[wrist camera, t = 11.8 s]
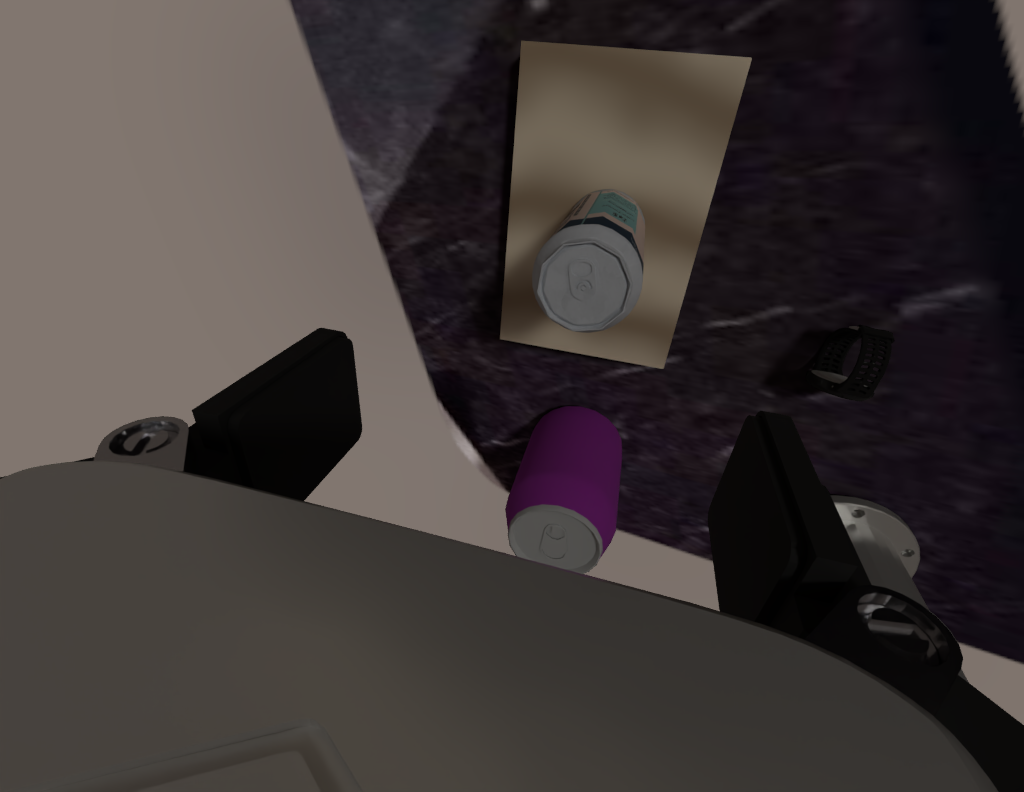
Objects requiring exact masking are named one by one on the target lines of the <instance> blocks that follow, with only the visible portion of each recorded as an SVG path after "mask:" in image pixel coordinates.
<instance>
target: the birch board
mask: <svg viewBox="0 0 1024 792" xmlns="http://www.w3.org/2000/svg"><path fill="white" fill-rule="evenodd" d="M751 60H752V58H748V57H734V56H721V55H707V54H693V53H680V52H666V51H653V50H639V49H626V48H612V47H599V46H585V45H572V44H558V43H545V42H531V41H521V55H520V69H519V83H518V96H517V110H516V124H515V138H514V152H513V165H512V179H511V193H510V207H509V221H508V234H507V248H506V262H505V276H504V290H503V303H502V317H501V331H500V339H502V340H508V341H513V342H519V343H524V344H530V345H535V346H540V347H546V348H551V349H557V350H562V351H568V352H573V353H579V354H584V355H590V356H595V357H600V358H606V359H611V360H617V361H622V362H628V363H633V364H639V365H644V366H650V367H655V368H661V369H663V368H664V365H665V361H666V358H667V354H668V351H669V347H670V344H671V340H672V337H673V333H674V330H675V326H676V323H677V319H678V316H679V312H680V309H681V305H682V302H683V298H684V295H685V291H686V288H687V284H688V281H689V277H690V274H691V270H692V267H693V263H694V260H695V256H696V253H697V249H698V246H699V242H700V239H701V235H702V232H703V228H704V225H705V221H706V217H707V214H708V210H709V207H710V203H711V200H712V196H713V193H714V189H715V186H716V182H717V179H718V175H719V172H720V168H721V165H722V161H723V158H724V154H725V151H726V147H727V144H728V140H729V137H730V133H731V130H732V126H733V123H734V119H735V116H736V112H737V109H738V105H739V102H740V98H741V95H742V91H743V88H744V84H745V81H746V77H747V74H748V70H749V67H750V63H751ZM602 189H615V190H618V191H621V192H624V193H625V194H627V195H628V196H630V197H631V198H633V199H634V200H635V201H636V202H637V204H638V205H639V207H640V209H641V210H642V213H643V217H644V220H645V243H644V267H643V282H642V290H641V293H640V296H639V299H638V301H637V303H636V305H635V307H634V308H633V309H632V311H631V312H630V313H629V315H628V316H627V317H625V318H624V319H623V320H622V321H620V322H619V323H618V324H616V325H615V326H613V327H610V328H608V329H606V330H603V331H598V332H591V333H581V332H575V331H571V330H568V329H566V328H564V327H562V326H560V325H559V324H557V323H555V322H553V321H552V320H551V319H550V318H549V317H548V316H547V315H546V314H545V313H544V312H543V310H542V309H541V307H540V306H539V304H538V302H537V300H536V298H535V294H534V290H533V286H532V272H533V267H534V262H535V260H536V257H537V255H538V253H539V251H540V250H541V248H542V247H543V245H544V244H545V243H546V242H547V241H548V240H549V239H550V238H551V236H552V235H553V234H554V232H555V231H556V230H557V229H558V227H559V226H560V225H561V224H562V222H563V221H564V220H565V218H566V217H567V216H568V215H569V213H570V212H571V211H572V209H573V208H574V206H575V205H576V204H577V203H578V202H579V201H580V200H581V199H582V198H583V197H584V196H586V195H587V194H589V193H591V192H594V191H598V190H602Z"/></svg>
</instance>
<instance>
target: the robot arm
mask: <svg viewBox="0 0 1024 792" xmlns="http://www.w3.org/2000/svg"><path fill="white" fill-rule="evenodd" d="M192 412H193V415H194V418H195V421H196V423H195V424H193V425H192V426H190V427H188V425H187V423H185V422H184V421H183V420H181V419H178V418H175V417H164V416H162V417H151V418H146V419H142V420H137V421H135V422H132V423H129V424H126V425H123V426H122V427H120V428H118V429H116V430H114V431H112V432H111V433H110V434H109V435H107V436H106V437H105V438H104V439H103V441H102V442H101V443H100V445H99V447H98V450H97V453H96V455H95V457H93V458H88V459H84V460H79V461H75V462H66V463H58V464H51V465H45V466H39V467H33V468H29V469H26V470H22V471H19V472H17V473H14V474H11V475H9V476H6V477H1V478H0V792H1024V725H1022V724H1021V723H1020V722H1019V721H1017V720H1016V719H1015V718H1013V717H1012V716H1011V715H1010V714H1008V713H1007V712H1006V711H1004V710H1003V709H1001V708H1000V707H999V706H998V705H996V704H995V703H994V702H993V701H991V700H990V699H989V698H987V697H986V696H985V695H984V694H982V693H981V692H980V691H978V690H977V689H976V688H975V687H973V686H972V685H971V684H969V682H968V680H967V678H966V677H965V675H964V673H963V671H962V670H961V667H962V661H963V656H962V653H961V650H960V647H959V644H958V642H957V641H956V639H955V638H954V636H953V635H952V633H951V632H950V630H949V629H948V628H947V627H946V626H945V625H944V624H943V623H942V622H941V621H940V620H939V619H938V618H937V617H936V616H935V615H934V614H933V613H931V612H930V611H929V609H928V608H927V606H926V604H925V602H924V600H923V599H922V597H921V595H920V593H919V591H918V590H917V588H916V586H915V584H914V582H913V580H912V579H911V578H912V577H913V575H914V574H915V572H916V570H917V568H918V564H919V561H920V548H919V546H918V543H917V540H916V538H915V536H914V535H913V533H912V531H911V530H910V528H909V527H908V525H907V524H906V523H905V522H904V521H903V520H902V519H901V518H900V517H899V516H898V515H896V514H895V513H893V512H892V511H890V510H889V509H887V508H886V507H883V506H881V505H878V504H876V503H874V502H871V501H867V500H863V499H859V498H855V497H847V496H838V495H830V493H829V491H828V490H827V488H826V487H825V486H823V485H822V484H821V483H820V481H819V478H818V476H817V474H816V472H815V470H814V467H813V465H812V463H811V461H810V458H809V456H808V454H807V452H806V449H805V447H804V445H803V443H802V441H801V438H800V436H799V434H798V432H797V429H796V427H795V425H794V423H793V420H792V419H791V417H790V416H786V415H781V414H775V413H770V412H765V411H760V412H758V414H757V415H756V416H750V415H749V416H748V417H747V418H746V420H745V422H744V424H743V427H742V429H741V431H740V434H739V436H738V439H737V441H736V444H735V446H734V449H733V451H732V453H731V456H730V458H729V461H728V463H727V466H726V468H725V471H724V473H723V475H722V478H721V480H720V483H719V485H718V488H717V490H716V493H715V495H714V497H713V500H712V502H711V505H710V508H709V513H708V526H709V533H710V541H711V549H712V556H713V564H714V571H715V579H716V587H717V594H718V602H719V609H720V611H716V610H713V609H710V608H706V607H703V606H699V605H696V604H693V603H690V602H686V601H682V600H678V599H674V598H671V597H667V596H663V595H659V594H655V593H652V592H648V591H645V590H641V589H637V588H633V587H630V586H625V585H622V584H618V583H615V582H611V581H607V580H603V579H600V578H595V577H592V576H588V575H585V574H581V573H577V572H573V571H570V570H566V569H562V568H558V567H555V566H551V565H547V564H543V563H540V562H536V561H532V560H528V559H525V558H521V557H517V556H513V555H510V554H506V553H502V552H498V551H494V550H491V549H486V548H482V547H479V546H475V545H471V544H467V543H464V542H460V541H456V540H452V539H448V538H445V537H441V536H437V535H433V534H429V533H426V532H422V531H418V530H414V529H410V528H406V527H402V526H398V525H395V524H391V523H387V522H383V521H379V520H375V519H372V518H367V517H363V516H360V515H356V514H352V513H348V512H344V511H340V510H336V509H332V508H328V507H324V506H321V505H316V504H312V503H309V502H305V501H304V500H305V499H306V498H307V497H308V496H309V495H310V494H311V492H312V491H313V490H314V489H315V488H316V487H317V486H318V485H319V483H320V482H321V481H322V480H323V479H324V478H325V477H326V476H327V475H328V474H329V472H330V471H331V470H332V469H333V468H334V467H335V466H336V465H337V463H338V462H339V461H340V460H341V459H342V458H343V457H344V456H345V455H346V453H347V452H348V451H349V450H350V449H351V448H352V447H353V446H354V444H355V443H356V442H357V441H358V440H359V438H360V435H361V432H362V422H361V413H360V404H359V395H358V386H357V378H356V368H355V359H354V351H353V344H352V341H351V340H350V339H347V336H346V334H345V333H344V332H341V331H336V330H330V329H325V328H319V329H317V330H316V331H314V332H312V333H311V334H309V335H308V336H306V337H304V338H303V339H301V340H300V341H299V342H297V343H295V344H294V345H292V346H291V347H289V348H287V349H286V350H284V351H283V352H281V353H280V354H278V355H277V356H275V357H273V358H272V359H270V360H269V361H267V362H266V363H264V364H263V365H261V366H259V367H258V368H256V369H255V370H254V371H252V372H250V373H249V374H247V375H246V376H244V377H242V378H241V379H239V380H238V381H236V382H235V383H233V384H232V385H230V386H229V387H227V388H226V389H224V390H222V391H221V392H219V393H218V394H216V395H215V396H213V397H212V398H210V399H209V400H207V401H205V402H204V403H202V404H201V405H199V406H198V407H196V408H195V409H193V410H192Z"/></svg>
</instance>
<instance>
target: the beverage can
mask: <svg viewBox="0 0 1024 792" xmlns="http://www.w3.org/2000/svg"><path fill="white" fill-rule="evenodd" d="M621 463H622V443H621V438H620V436H619V433H618V431H617V429H616V427H615V426H614V425H613V424H612V423H611V422H610V421H609V419H608V418H606V417H605V416H603V415H601V414H600V413H598V412H597V411H595V410H591V409H588V408H584V407H581V406H565V407H562V408H558V409H554V410H552V411H550V412H549V413H547V414H546V415H544V416H543V417H542V418H541V419H540V421H539V422H538V424H537V425H536V426H535V428H534V430H533V432H532V435H531V437H530V440H529V443H528V446H527V448H526V451H525V454H524V456H523V459H522V462H521V464H520V467H519V470H518V473H517V475H516V478H515V481H514V483H513V486H512V489H511V491H510V494H509V497H508V501H507V505H506V509H505V510H506V518H507V526H508V538H509V544H510V547H511V548H512V550H513V552H514V553H515V555H516V556H517V557H521V558H525V559H528V560H532V561H536V562H540V563H543V564H547V565H551V566H555V567H558V568H562V569H566V570H570V571H573V572H577V573H581V574H584V573H586V572H589V571H590V570H591V569H592V568H593V567H595V566H596V565H597V563H598V561H599V559H600V557H601V556H602V554H603V553H604V552H605V550H606V549H607V547H608V546H609V544H610V543H611V540H612V538H613V536H614V533H615V531H616V520H617V509H618V497H619V486H620V474H621Z"/></svg>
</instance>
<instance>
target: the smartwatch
mask: <svg viewBox="0 0 1024 792" xmlns="http://www.w3.org/2000/svg"><path fill="white" fill-rule="evenodd" d="M850 328H852V329H850ZM836 336H838V337H836ZM846 338H848V339H846ZM860 338H862V344H861V349H860V354H859V357H858V360H857V363H856V365H855V367H854V369H853V371H852V373H851V374H850V376H849V377H845V376H843V374H842V367H843V362H844V359H845V357H846V355H847V353H848V351H849V349H850V348H851V346H852V345H853V344H854V343H855V342H856V341H857V340H858V339H860ZM832 339H837V340H832ZM849 339H851V340H849ZM868 339H873V340H874V341H873V340H868ZM842 341H846V342H848V343H845V342H842ZM880 341H881V342H880ZM831 342H832V343H836V344H835V345H833V344H829V343H831ZM882 342H884V343H882ZM893 342H894V337H893V333H891V332H889V331H885V330H879V329H874V328H870V327H867V326H863V325H859V326H850V327H849V328H841V329H838V330H836V331H835V332H833V333H832V334H831V335H830V336H829V337H828V338H827V339H826V341H825V343H824V345H823V347H822V349H821V351H820V353H819V356H818V358H817V360H816V363H815V365H814V368H813V370H812V371H808V372H807V373H806V381H807V382H808V384H810V385H811V386H813V387H815V388H817V389H819V390H821V391H824V392H826V393H829V394H832V395H835V396H838V397H841V398H845V399H849V400H855V401H863V400H867V399H870V398H871V397H873V395H874V393H873V392H874V390H875V389H876V387H877V385H878V383H879V382H880V380H881V378H882V377H883V375H884V373H885V371H886V368H887V365H888V363H889V359H890V355H891V343H893ZM867 343H872V344H874V346H872V345H868V344H867ZM840 344H842V345H845V347H844V348H843V347H841V346H839V345H840ZM879 345H880V346H883V347H885V349H884V348H882V347H879ZM827 347H833V349H832V350H831V349H827ZM838 348H839V349H841V350H843V352H842V353H841V352H839V351H837V349H838ZM867 348H873V351H868V350H867ZM878 350H880V351H883V352H884V353H885V354H882V353H880V352H878ZM825 352H831V354H830V355H825ZM866 353H868V354H872V357H869V356H865V354H866ZM835 354H838V355H840V358H839V357H835V356H834V355H835ZM877 355H878V356H881V357H883V360H881V359H879V358H877ZM823 357H825V358H829V359H828V360H823ZM833 359H834V360H837V361H838V363H836V362H833ZM864 359H870V360H871V362H870V363H869V362H864ZM876 361H878V362H880V363H882V365H881V366H879V365H877V364H875V362H876ZM822 363H824V364H827V366H823V365H822ZM862 365H868V368H861V366H862ZM832 366H833V367H835V368H833V367H832ZM874 367H876V368H879V371H878V372H877V371H874V370H873V368H874ZM822 369H825V370H822ZM831 371H832V372H831ZM859 371H862V372H866V373H865V374H859ZM871 373H872V374H875V375H877V376H876V377H872V376H870V374H871ZM856 377H859V378H862V379H855V378H856ZM867 379H869V380H871V381H873V382H868V381H867Z"/></svg>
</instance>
